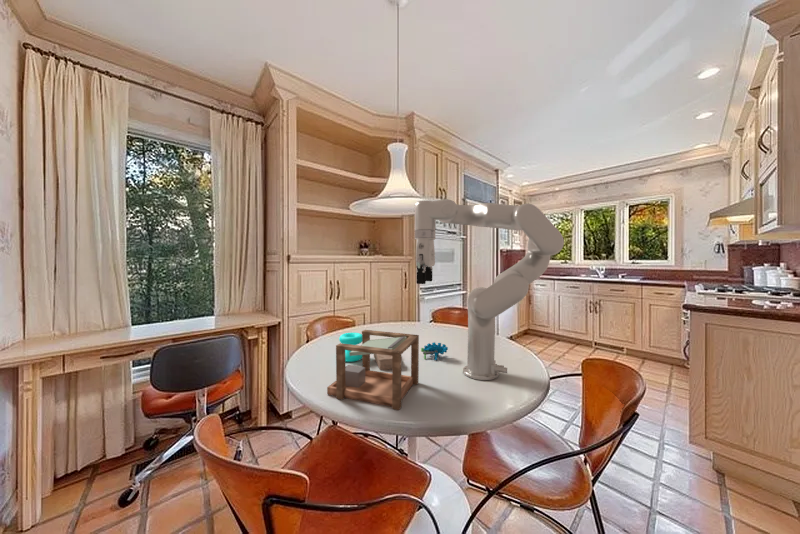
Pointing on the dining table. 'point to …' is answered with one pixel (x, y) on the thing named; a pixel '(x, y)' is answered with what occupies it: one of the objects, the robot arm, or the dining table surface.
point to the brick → (383, 361)
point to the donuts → (353, 340)
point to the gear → (434, 349)
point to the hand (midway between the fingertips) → (424, 282)
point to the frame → (378, 384)
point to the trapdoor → (381, 344)
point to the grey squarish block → (354, 375)
